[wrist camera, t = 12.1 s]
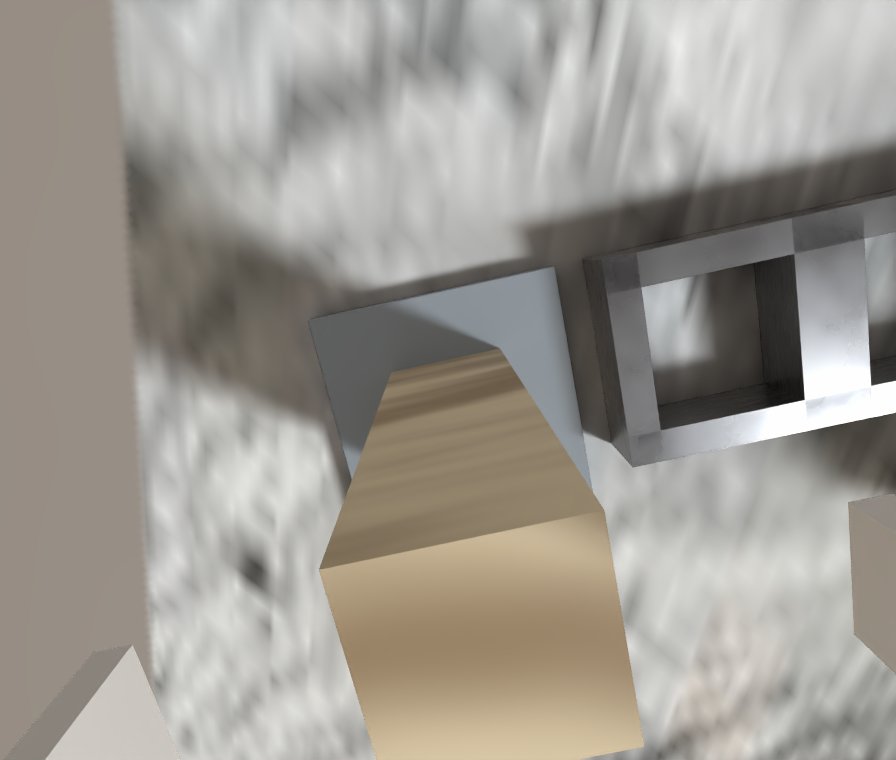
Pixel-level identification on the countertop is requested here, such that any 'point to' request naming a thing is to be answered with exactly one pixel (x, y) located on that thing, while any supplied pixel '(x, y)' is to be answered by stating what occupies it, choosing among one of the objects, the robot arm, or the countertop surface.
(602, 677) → the birch plug
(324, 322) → the slate mat
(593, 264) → the dark grey open frame
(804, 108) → the countertop surface
